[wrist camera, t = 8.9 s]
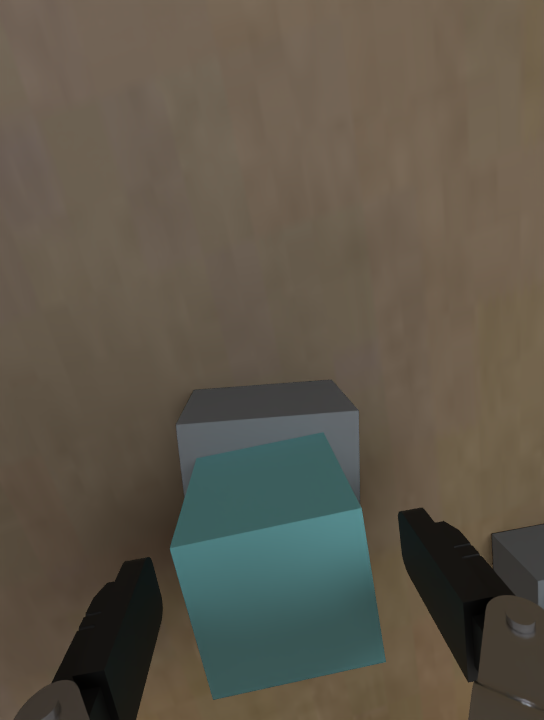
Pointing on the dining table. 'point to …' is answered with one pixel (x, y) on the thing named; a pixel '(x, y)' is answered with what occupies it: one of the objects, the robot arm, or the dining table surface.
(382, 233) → the dining table surface
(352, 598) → the teal block
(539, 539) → the stack
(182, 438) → the charcoal block
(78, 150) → the dining table surface
